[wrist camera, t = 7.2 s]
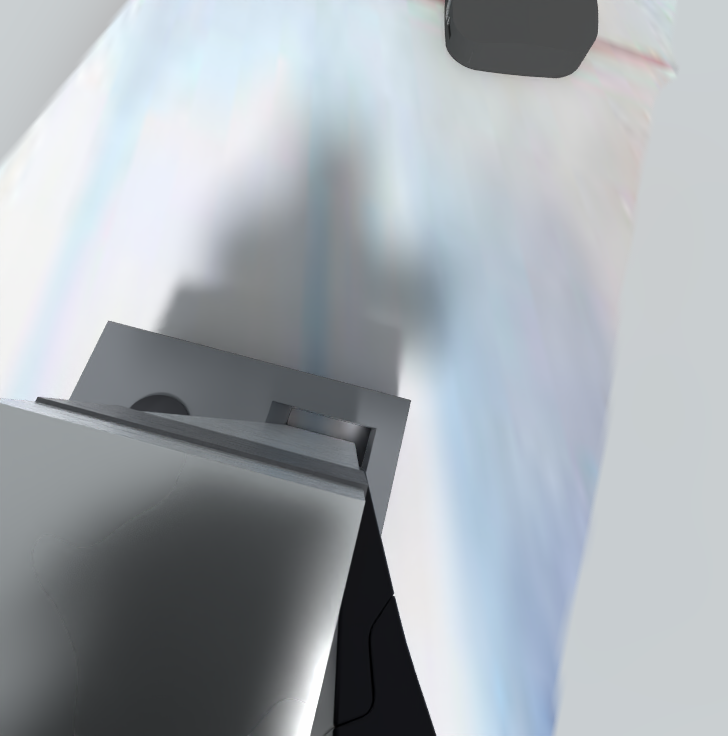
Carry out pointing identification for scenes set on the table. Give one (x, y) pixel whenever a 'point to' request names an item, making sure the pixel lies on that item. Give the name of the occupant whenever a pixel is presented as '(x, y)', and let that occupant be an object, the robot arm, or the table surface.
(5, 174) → the table surface
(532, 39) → the media streaming box
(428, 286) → the table surface
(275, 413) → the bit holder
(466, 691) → the table surface
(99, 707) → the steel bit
